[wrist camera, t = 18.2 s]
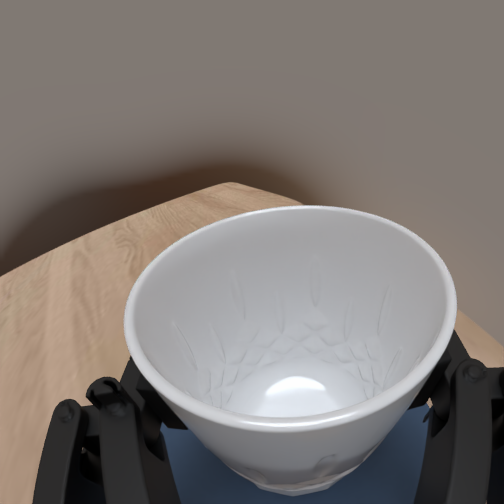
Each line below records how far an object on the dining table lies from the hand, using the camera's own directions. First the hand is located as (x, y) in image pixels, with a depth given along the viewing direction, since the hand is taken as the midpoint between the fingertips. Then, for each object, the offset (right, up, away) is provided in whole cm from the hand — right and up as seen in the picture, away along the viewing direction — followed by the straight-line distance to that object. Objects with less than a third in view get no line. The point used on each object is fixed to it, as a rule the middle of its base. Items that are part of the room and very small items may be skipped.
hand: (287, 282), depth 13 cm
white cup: (+1, -8, -1) cm, 8 cm away
